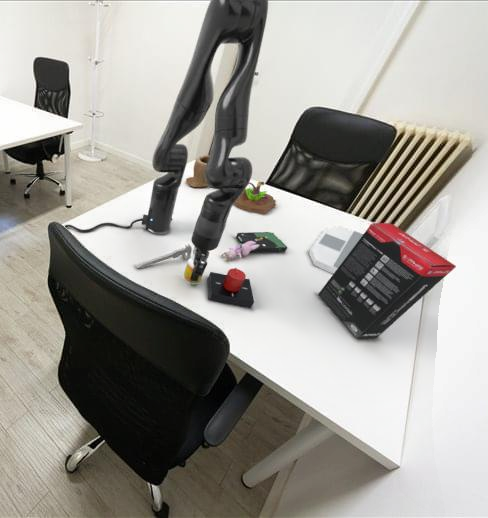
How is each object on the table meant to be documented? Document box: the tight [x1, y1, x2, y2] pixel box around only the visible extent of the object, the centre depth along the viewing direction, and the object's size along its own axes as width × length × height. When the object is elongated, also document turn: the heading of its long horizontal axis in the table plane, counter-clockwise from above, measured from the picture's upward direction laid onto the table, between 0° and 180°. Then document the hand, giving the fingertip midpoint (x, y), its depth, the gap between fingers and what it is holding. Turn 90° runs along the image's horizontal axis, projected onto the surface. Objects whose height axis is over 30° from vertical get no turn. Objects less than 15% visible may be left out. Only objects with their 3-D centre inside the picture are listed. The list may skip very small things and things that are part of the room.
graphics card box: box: [318, 222, 457, 340], centre depth 76 cm, size 17×7×27 cm, turn 5°
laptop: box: [308, 193, 453, 275], centre depth 99 cm, size 33×24×26 cm
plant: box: [233, 181, 277, 215], centre depth 134 cm, size 20×20×11 cm
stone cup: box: [185, 154, 210, 188], centre depth 145 cm, size 15×12×15 cm
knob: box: [223, 267, 247, 292], centre depth 87 cm, size 5×5×5 cm
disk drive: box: [235, 231, 288, 254], centre depth 110 cm, size 10×3×15 cm
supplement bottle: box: [183, 252, 205, 285], centre depth 89 cm, size 5×5×10 cm
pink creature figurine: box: [220, 241, 259, 262], centre depth 104 cm, size 6×6×15 cm
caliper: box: [135, 243, 193, 269], centre depth 99 cm, size 20×1×6 cm, turn 108°
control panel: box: [207, 271, 255, 309], centre depth 89 cm, size 12×10×3 cm
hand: (193, 273), depth 91 cm, fingers closed on supplement bottle, 5 cm apart
